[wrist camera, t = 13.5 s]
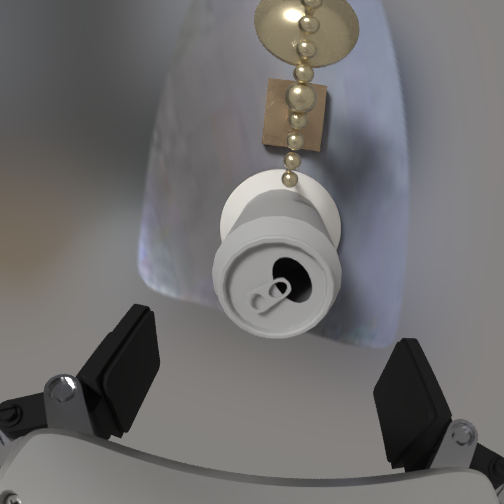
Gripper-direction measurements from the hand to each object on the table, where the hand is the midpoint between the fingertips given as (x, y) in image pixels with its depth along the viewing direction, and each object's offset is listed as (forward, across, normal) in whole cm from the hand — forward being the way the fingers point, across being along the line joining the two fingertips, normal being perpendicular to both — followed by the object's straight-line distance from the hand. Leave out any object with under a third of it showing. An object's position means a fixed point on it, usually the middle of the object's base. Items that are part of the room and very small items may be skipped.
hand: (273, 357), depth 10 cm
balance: (+19, 0, -11) cm, 21 cm away
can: (+17, 0, +1) cm, 17 cm away
